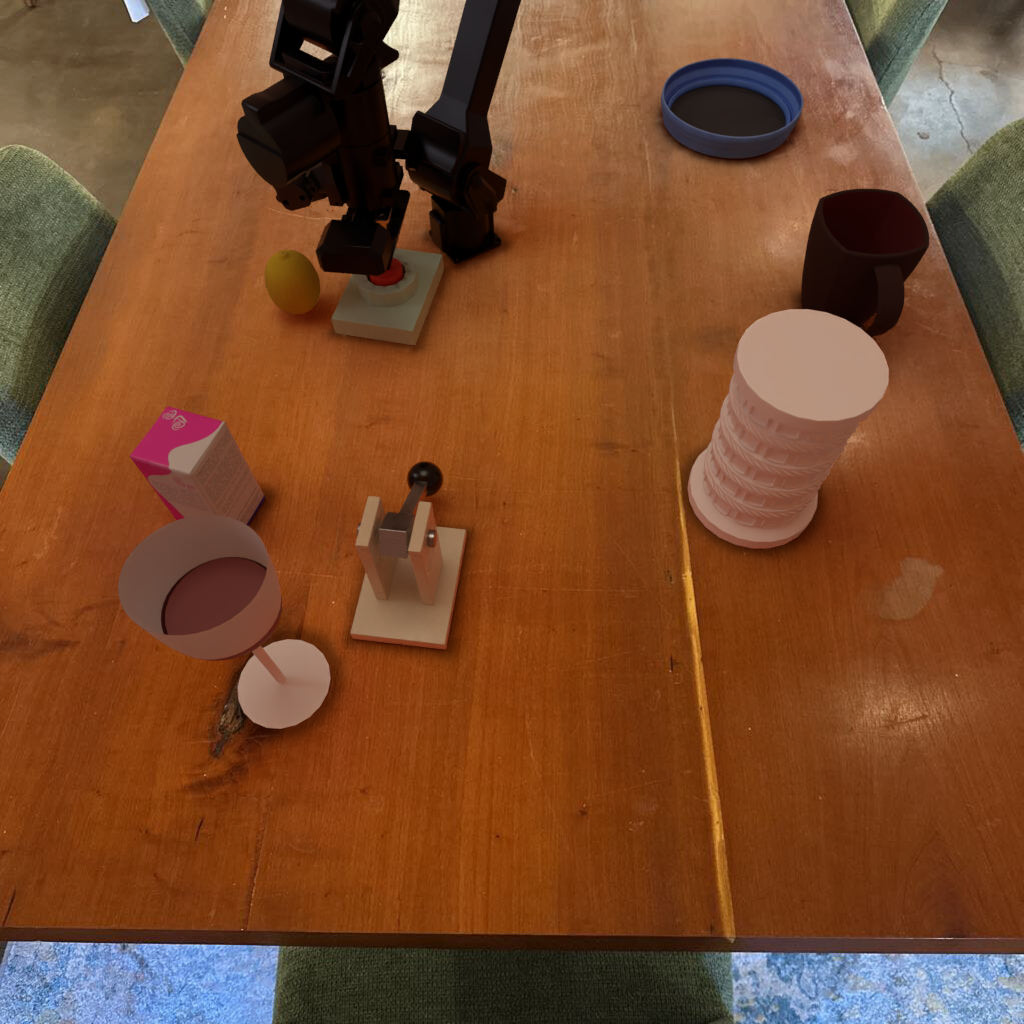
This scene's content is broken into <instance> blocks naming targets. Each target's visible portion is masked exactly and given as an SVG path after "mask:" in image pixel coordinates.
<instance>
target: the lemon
mask: <svg viewBox="0 0 1024 1024" xmlns="http://www.w3.org/2000/svg"><path fill="white" fill-rule="evenodd" d="M264 268H265V269H264V283H265V287H266V290H267V293H268V296H269V298H270V299H271V301H272V302H273V303H274V305H275V306H276V307H277V308H279V309H280V310H281V311H283V312H285V313H288V314H290V315H291V314H292V315H303V314H305V313H308V312H310V311H311V310H312V309H314V308H315V307H316V305H317V303H318V302H319V300H320V297H321V292H322V291H321V289H322V288H321V281H320V276H319V274H318V272H317V270H316V268H315V266H314V265H313V262H312V261H311V260H310V259H309V258H308V257H307V256H306V255H305V254H304V253H302V252H299V251H297V250H294V249H282V250H279V251H276V252H275V253H273V255H271V256H270V257H269V259H268V260H267V262H266V264H265V267H264Z"/></svg>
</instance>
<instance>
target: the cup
mask: <svg viewBox="0 0 1024 1024" xmlns="http://www.w3.org/2000/svg"><path fill="white" fill-rule="evenodd" d="M808 232H809V233H808V237H807V241H806V248H805V254H804V260H803V267H802V276H801V285H800V286H801V288H800V289H801V290H800V291H801V292H800V295H801V296H800V298H801V299H800V305H801V306H800V307H801V309H809V310H815V311H821V312H827V313H829V314H832V315H835V316H838V317H840V318H843V319H845V320H847V321H849V322H851V323H852V324H854V325H856V326H858V327H859V328H861V329H862V330H863V331H864V332H865V333H867V334H868V335H869V336H870V337H871V338H873V337H877V336H878V337H879V336H881V335H884V334H886V333H888V332H889V331H891V330H892V329H893V328H894V327H895V326H897V324H898V323H899V320H900V318H901V315H902V313H903V309H904V304H905V294H906V293H905V282H906V281H907V280H908V278H909V277H910V276H911V274H912V273H913V272H914V271H915V269H916V268H917V266H918V265H919V263H920V262H921V260H922V259H923V257H924V255H925V254H926V253H927V250H928V249H929V247H930V233H929V229H928V225H927V222H926V220H925V218H924V217H923V215H922V213H921V212H920V210H919V209H918V208H917V207H916V206H915V205H914V204H913V203H912V201H911V200H910V199H908V198H907V197H906V196H904V195H903V194H901V193H900V192H898V191H895V190H888V189H883V188H882V189H881V188H852V189H851V188H850V189H844V190H840V191H835V192H832V193H829V194H827V195H825V196H822V197H820V198H819V200H818V202H817V205H816V208H815V209H814V214H813V218H812V220H811V224H810V227H809V231H808ZM872 317H874V319H873V321H872V323H871V325H870V326H869V327H868V329H864V328H863V327H862V326H863V325H864V324H865V323H867V322H868V321H869V320H870V319H871V318H872Z"/></svg>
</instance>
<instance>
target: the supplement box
mask: <svg viewBox="0 0 1024 1024" xmlns="http://www.w3.org/2000/svg"><path fill="white" fill-rule="evenodd" d="M129 458H130V459H131V461H132V462H133V463H134V465H135V466H136V467H137V470H139V472H140V473H141V474H142V476H143V477H144V478H145V480H146V481H147V482H148V484H149V485H150V486H151V488H152V489H153V491H154V492H155V493H156V495H157V496H158V497H159V499H160V500H161V501H162V503H163V504H164V505H165V507H166V508H167V509H168V511H169V512H170V514H171V515H172V516H173V518H174V519H175V521H177V520H179V519H183V518H187V517H191V516H198V515H219V516H226V517H230V518H233V519H236V520H238V521H241V522H243V523H244V524H246V525H247V526H249V527H250V525H251V523H252V522H253V520H254V518H255V517H256V515H257V513H258V512H259V510H260V508H261V507H262V505H263V504H264V502H265V500H266V496H265V495H264V492H263V491H262V488H261V487H260V484H259V482H258V481H257V479H256V477H255V476H254V473H253V471H252V470H251V468H250V466H249V464H248V462H247V460H246V459H245V456H244V454H243V453H242V451H241V449H240V447H239V445H238V443H237V441H236V440H235V438H234V436H233V434H232V432H231V430H230V428H229V427H228V424H227V422H226V421H223V420H220V419H216V418H213V417H210V416H206V415H201V414H198V413H194V412H190V411H187V410H185V409H184V410H183V409H179V408H176V407H172V406H168V405H167V406H166V407H165V409H164V410H163V411H162V412H161V413H160V415H159V416H158V418H157V419H156V421H155V422H154V423H153V424H152V426H151V428H150V429H149V430H148V431H147V432H146V434H145V435H144V437H143V438H142V439H141V440H140V442H139V443H138V444H137V445H136V446H135V448H134V449H133V450H132V452H131V453H130V454H129Z"/></svg>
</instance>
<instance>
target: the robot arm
mask: <svg viewBox="0 0 1024 1024" xmlns="http://www.w3.org/2000/svg"><path fill="white" fill-rule="evenodd" d="M521 3H522V0H465V3H464V5H463V10H462V13H461V17H460V21H459V25H458V28H457V33H456V37H455V40H454V44H453V47H452V50H451V55H450V59H449V63H448V66H447V70H446V75H445V78H444V81H443V85H442V89H441V92H440V95H439V98H438V99H437V100H436V101H435V102H434V103H433V104H432V105H431V106H430V107H429V108H428V110H426V111H425V112H423V111H421V110H417V111H415V113H414V115H413V116H412V118H411V124H410V125H411V126H410V129H402V128H398V126H397V124H391V123H390V119H389V112H388V111H389V110H388V106H387V105H388V104H387V99H386V93H385V92H386V91H385V85H384V81H383V75H382V72H383V70H384V69H385V68H387V67H389V66H390V65H391V64H393V63H395V62H396V61H397V60H398V59H399V58H400V52H399V50H398V49H396V48H393V47H392V46H390V45H389V44H388V43H386V42H385V41H384V40H385V38H386V36H387V34H388V33H389V31H390V30H391V28H392V26H393V24H394V23H395V21H396V19H397V18H398V16H399V13H400V4H401V0H281V2H280V6H279V11H278V18H277V22H276V25H275V31H274V36H273V40H272V41H273V42H272V46H271V51H270V56H269V61H268V66H269V67H270V68H271V69H273V70H274V71H277V72H279V73H281V74H282V76H283V78H282V79H280V80H278V81H277V82H275V83H274V84H272V85H270V86H269V87H267V88H265V89H263V90H261V91H258V92H254V93H251V94H250V95H249V96H247V97H245V98H243V99H242V100H241V103H240V106H241V107H242V111H243V114H244V115H242V116H241V117H239V118H238V120H237V125H236V128H237V129H236V130H237V133H236V134H235V136H236V140H237V143H238V145H239V147H240V149H241V151H242V153H243V155H244V157H245V159H246V160H247V161H248V163H249V165H250V166H251V167H252V168H253V170H254V171H255V172H256V173H257V175H258V176H259V177H260V178H262V180H263V181H265V182H266V183H268V185H270V186H271V187H272V188H273V189H274V190H275V193H276V195H275V199H276V201H277V202H278V203H280V204H282V207H283V208H284V209H286V210H287V211H291V212H294V211H298V210H301V209H305V208H308V207H310V206H311V203H314V202H318V201H321V200H324V199H327V201H328V204H329V206H330V207H340V208H341V207H344V205H345V204H346V206H347V209H346V213H345V214H342V215H341V219H333V218H332V219H331V220H330V221H329V222H328V223H327V224H325V226H323V227H324V228H323V230H322V232H321V235H320V237H319V241H318V243H317V246H316V248H315V250H314V251H315V255H316V258H317V262H318V266H319V268H320V269H321V270H322V271H323V272H324V273H334V274H345V275H346V274H348V275H352V274H358V275H370V276H379V275H381V274H383V273H385V272H386V270H389V269H390V267H391V263H392V260H393V256H394V252H395V249H396V248H397V245H398V241H399V238H400V234H401V230H402V227H403V224H404V220H405V216H406V213H407V209H408V206H409V202H410V199H411V191H409V190H407V189H401V186H402V182H403V180H404V176H405V172H404V170H405V171H407V175H408V177H409V179H410V181H411V182H413V184H414V185H416V186H418V188H419V190H420V191H422V192H426V193H428V194H430V202H431V203H430V204H431V210H430V211H429V212H428V217H429V226H430V229H429V231H428V235H429V238H431V241H432V243H434V245H435V246H436V247H437V248H438V249H439V250H440V252H441V253H443V254H444V255H446V257H447V258H448V259H449V260H450V261H451V262H452V263H453V264H454V265H460V264H462V263H465V262H467V261H469V260H471V259H473V258H476V257H478V256H480V255H483V254H485V253H487V252H490V251H491V250H495V249H496V248H499V247H501V246H502V245H503V240H502V239H501V237H500V236H499V235H498V234H497V233H496V232H495V215H494V214H495V213H496V212H497V211H498V205H499V203H500V202H501V201H503V200H504V199H505V194H506V190H507V189H506V188H507V183H508V179H506V178H505V177H503V176H501V175H499V174H497V172H494V171H492V170H491V169H490V165H491V159H492V156H493V150H494V148H493V141H492V137H491V131H490V126H489V125H490V124H489V118H488V115H489V111H490V107H491V103H492V100H493V96H494V95H495V90H496V87H497V83H498V80H499V77H500V73H501V70H502V67H503V63H504V60H505V56H506V54H507V50H508V46H509V43H510V40H511V36H512V34H513V29H514V27H515V23H516V20H517V16H518V13H519V10H520V6H521ZM304 42H307V43H309V44H311V45H312V46H316V47H318V48H319V49H322V50H324V51H326V52H328V53H330V55H328V56H326V57H325V58H323V59H321V58H320V57H316V56H314V55H313V54H311V53H308V52H306V51H304V50H302V49H301V48H302V46H303V44H304ZM397 160H404V166H403V165H401V163H400V161H397ZM404 168H405V169H404Z"/></svg>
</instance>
